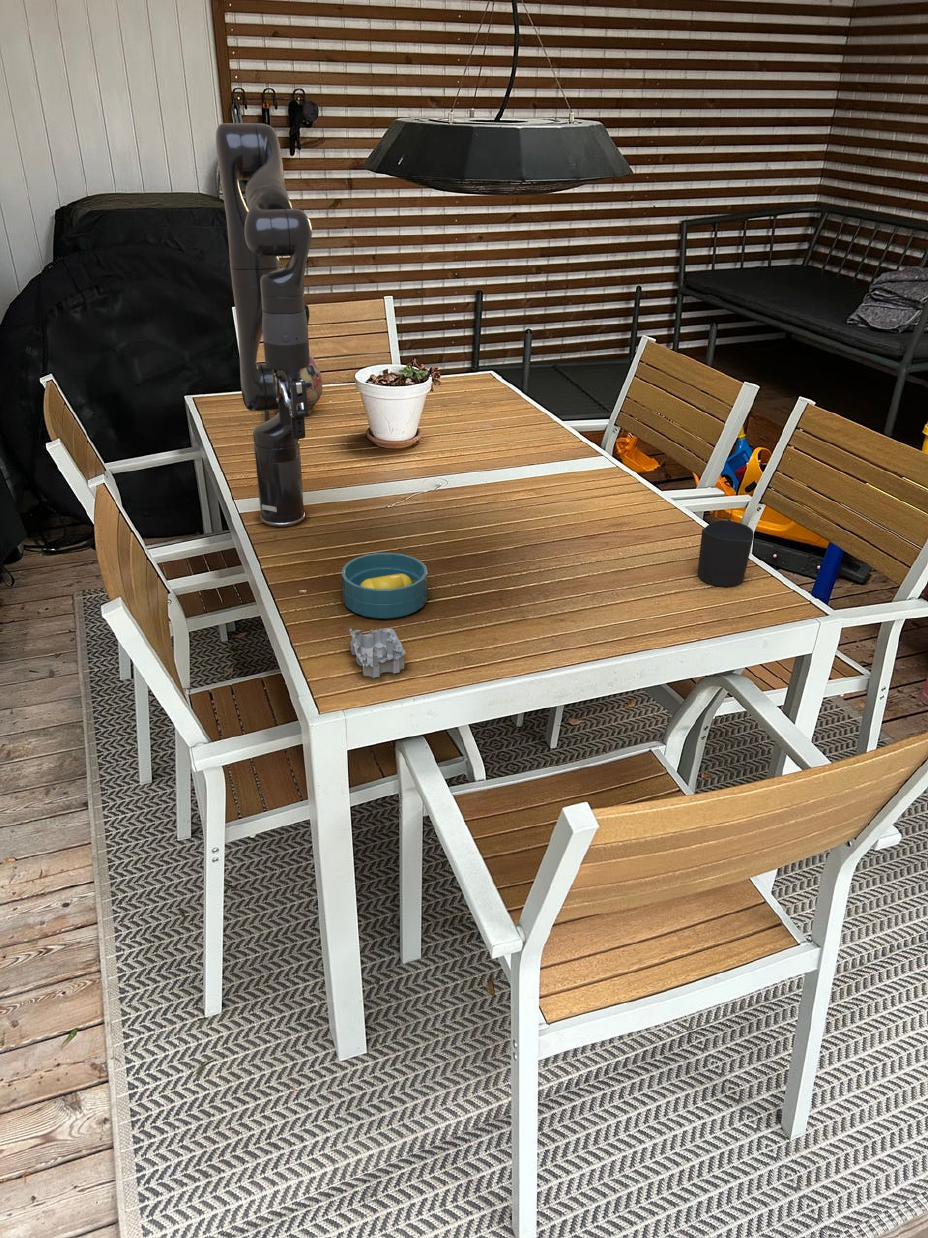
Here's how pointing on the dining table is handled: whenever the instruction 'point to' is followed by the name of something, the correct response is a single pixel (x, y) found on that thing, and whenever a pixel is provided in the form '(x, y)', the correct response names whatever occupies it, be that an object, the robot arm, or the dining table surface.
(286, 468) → the robot arm
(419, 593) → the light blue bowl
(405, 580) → the squash
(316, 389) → the ceramic jug
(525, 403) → the dining table surface
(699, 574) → the pen holder
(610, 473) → the dining table surface
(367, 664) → the egg carton
